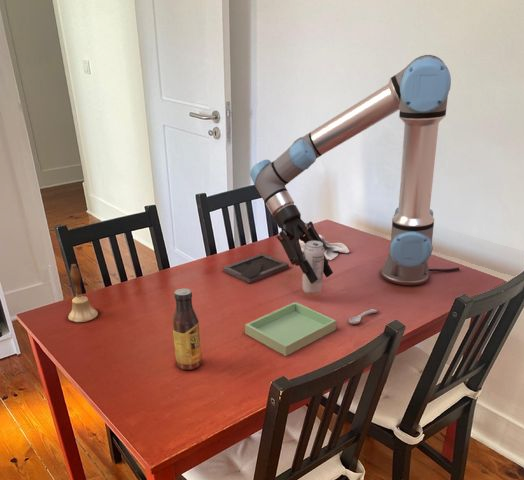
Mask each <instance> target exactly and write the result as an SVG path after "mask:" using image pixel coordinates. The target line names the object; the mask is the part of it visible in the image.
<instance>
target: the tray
mask: <svg viewBox="0 0 524 480" xmlns="http://www.w3.org/2000/svg"><path fill="white" fill-rule="evenodd" d="M244 328H245V329H244V331H245V332H244V333H245V335H247V336H248V337H250V338H252V339H253V340H256V341H257V342H259V343H261V344H263V345H264V346H266V347H268V348H270V349H271V350H274V351H275V352H277V353H279V354H281V355H283V356H284V357H288V356H289V355H291V354H292V353H294V352H297V351H298V350H300V349H302V348H304V347H305V346H308V345H309V344H312V343H313V342H315V341H318V340H319V339H320V338H321V339H322V338H323V337H325V336H327V335H328V334H331V333H332V332H334V331H335V330H336V329H337V320H336V319H334V318H332V317H330V316H328V315H325V314H323V313H320V312H319V311H317V310H314V309H312V308H310V307H307V306H306V305H304V304H302V303H299V302H297V301H294V302H291V303H289V304H287V305H285V306H283V307H281V308H277V309H276V310H274V311H271V312H269V313H268V314H265V315H263V316H261V317H259V318H256V319H253V320H252V321H250V322H248V323H245V324H244Z"/></svg>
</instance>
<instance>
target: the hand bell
mask: <svg viewBox="0 0 524 480" xmlns="http://www.w3.org/2000/svg"><path fill="white" fill-rule="evenodd" d="M70 278H71V281H72V283H73V285H74V290H75V296H74V297H73V298H72V300H71V311H70V312H69V314H68V316H67V318H68V321H71V322H74V323H86V322H90V321H92V320H94V319H96V318H97V317H98V315H99V312H98V311H97V310H96V309H95V308H94V307H93V306H92V305H91V303H90V300H89V298H88V297H87V296H86V295H83V291H82V287H81V282H82V275H81V272H80V270H79V268H78V266H77V264H76V263H71V264H70Z"/></svg>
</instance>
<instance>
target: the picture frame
mask: <svg viewBox="0 0 524 480" xmlns="http://www.w3.org/2000/svg"><path fill="white" fill-rule="evenodd" d="M222 269H223V273H226V274H228V275H230V276H232V277H234V278H237V279H239V280H241V281H243V282H245V283H247V284H253V283H255V282H258V281H260V280H262V279H265V278H267V277H269V276H272V275H275V274H277V273H280V272H283V271H284V270H287V269H289V263H287V262H285V261H282V260H280V259H278V258H275V257H273V256H271V255H268V254H265V253H263V252H262V253H261V252H260V253H259V254H255V255H252V256H251V257H248V258H245V259H242V260H239V261H236V262H234V263H232V264H229V265H225V266H223V267H222Z"/></svg>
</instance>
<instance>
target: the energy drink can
mask: <svg viewBox="0 0 524 480" xmlns="http://www.w3.org/2000/svg"><path fill="white" fill-rule="evenodd" d="M324 252H325V249H324V247H323V243H322V242H320V241H308V242H307V243H306V246H305V248H304V253H303V257H304V261H305V260H307V261H308V262H309V264H310V266H311V268H312V269H313V271H314V273H315V275H316V277H317V278H318V280H317V281H315V282H314V283H312V284H311V283H310V281H309V279H308V278H307V276H306V274H304V273H303V272H302V280H301V281H302V285H301V288H302V290H303V292H304V293H305V294H308V295H317V294H320V292H321V291H322V290H323V283H324V281H323V279H324V273H323V268H324Z"/></svg>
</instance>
